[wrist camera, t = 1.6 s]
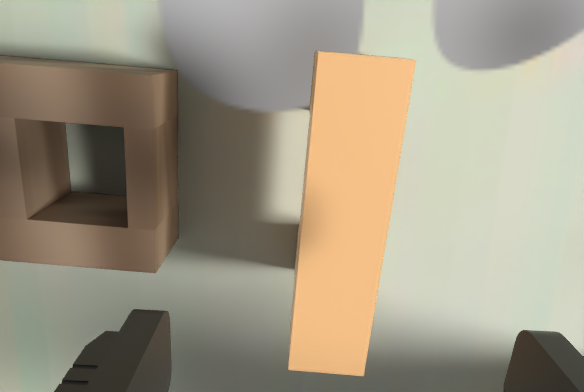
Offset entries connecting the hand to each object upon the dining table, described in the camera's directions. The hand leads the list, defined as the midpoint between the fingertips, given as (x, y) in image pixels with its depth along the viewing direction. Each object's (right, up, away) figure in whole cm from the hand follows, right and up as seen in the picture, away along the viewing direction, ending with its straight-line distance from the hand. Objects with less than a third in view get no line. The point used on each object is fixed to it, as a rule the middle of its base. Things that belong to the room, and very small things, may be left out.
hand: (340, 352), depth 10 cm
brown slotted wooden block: (-15, +6, +13) cm, 21 cm away
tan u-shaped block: (+1, +5, +13) cm, 14 cm away
